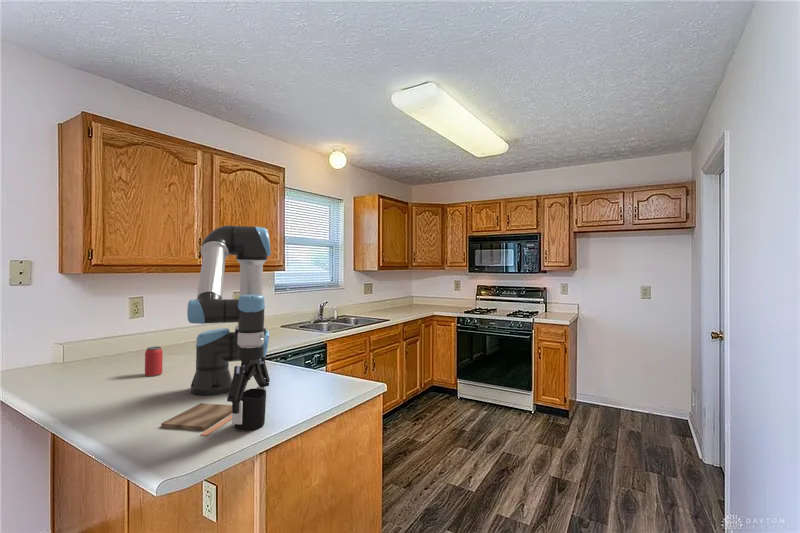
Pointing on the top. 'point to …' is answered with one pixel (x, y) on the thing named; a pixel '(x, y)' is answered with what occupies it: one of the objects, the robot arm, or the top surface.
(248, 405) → the pen holder
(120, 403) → the top surface
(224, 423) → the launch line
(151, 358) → the beer can
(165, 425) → the board
